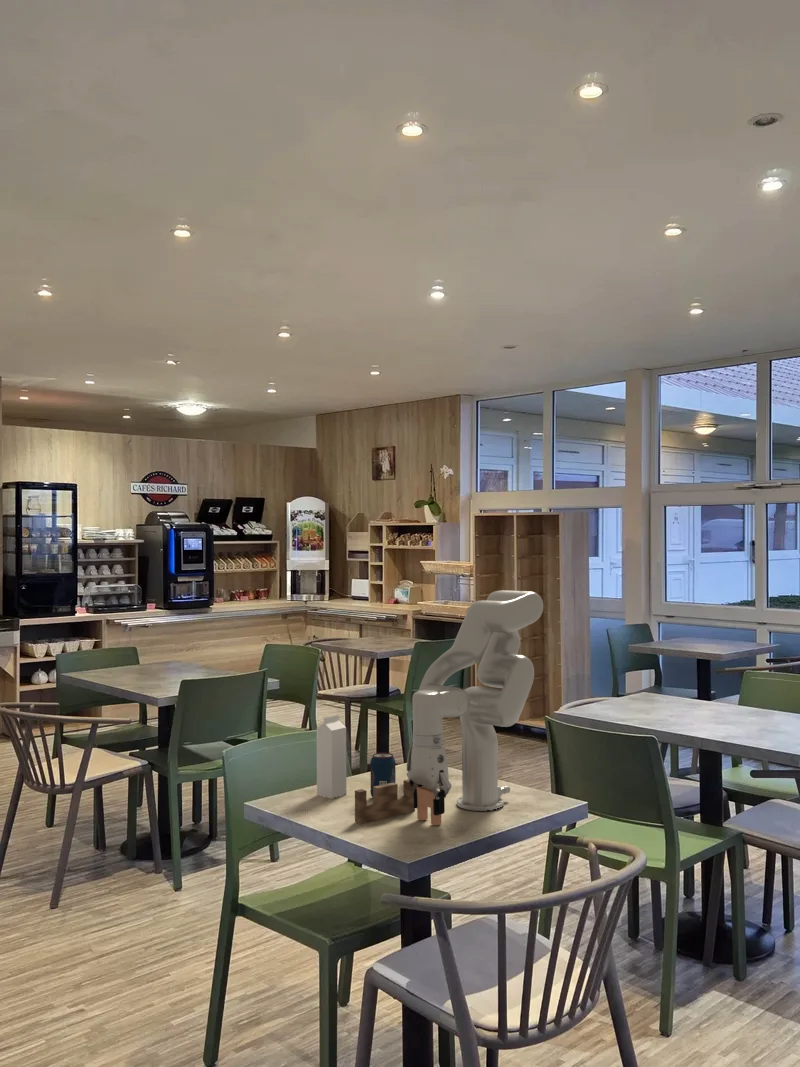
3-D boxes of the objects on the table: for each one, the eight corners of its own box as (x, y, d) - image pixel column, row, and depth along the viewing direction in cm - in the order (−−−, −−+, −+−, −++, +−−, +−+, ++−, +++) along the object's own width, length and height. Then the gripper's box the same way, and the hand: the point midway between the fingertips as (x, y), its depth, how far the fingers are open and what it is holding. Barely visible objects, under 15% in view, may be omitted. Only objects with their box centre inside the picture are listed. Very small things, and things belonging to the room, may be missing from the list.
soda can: (370, 795, 256) (370, 752, 256) (395, 794, 256) (395, 751, 256) (370, 801, 249) (370, 757, 249) (395, 801, 249) (395, 757, 249)
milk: (346, 794, 256) (347, 716, 257) (331, 799, 252) (332, 719, 252) (330, 790, 260) (331, 713, 260) (315, 795, 255) (316, 716, 256)
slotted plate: (423, 817, 233) (422, 786, 233) (441, 823, 228) (440, 791, 228) (417, 818, 232) (416, 787, 232) (435, 825, 226) (434, 793, 226)
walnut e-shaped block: (410, 809, 241) (409, 778, 241) (414, 810, 240) (414, 780, 240) (354, 822, 230) (354, 790, 230) (359, 824, 228) (359, 792, 229)
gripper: (462, 743, 225) (463, 815, 225) (417, 732, 239) (418, 800, 239) (439, 748, 221) (440, 821, 221) (394, 736, 234) (395, 806, 234)
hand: (429, 810), depth 230 cm, fingers closed on slotted plate, 7 cm apart
